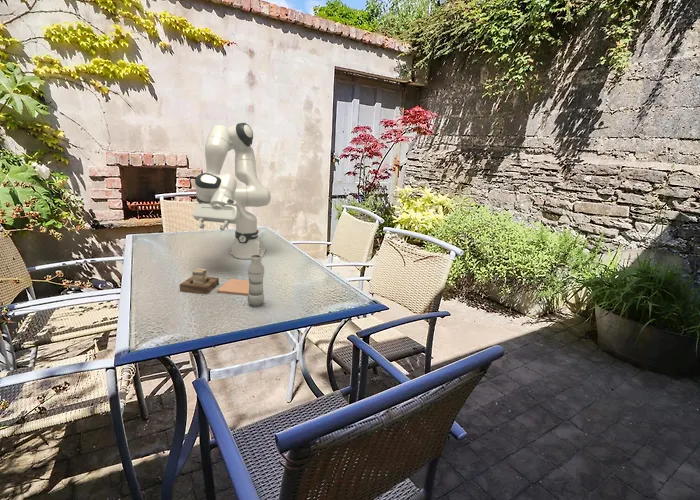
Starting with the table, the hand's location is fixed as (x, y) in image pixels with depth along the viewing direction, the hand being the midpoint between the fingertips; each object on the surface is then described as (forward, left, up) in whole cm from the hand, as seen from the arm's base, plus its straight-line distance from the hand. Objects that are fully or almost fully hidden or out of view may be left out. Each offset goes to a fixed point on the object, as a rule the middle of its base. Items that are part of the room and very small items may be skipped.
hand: (211, 228), depth 157 cm
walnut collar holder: (+12, 0, -23) cm, 26 cm away
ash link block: (+12, 0, -23) cm, 26 cm away
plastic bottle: (+22, +28, -24) cm, 43 cm away
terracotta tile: (+8, +16, -23) cm, 30 cm away
